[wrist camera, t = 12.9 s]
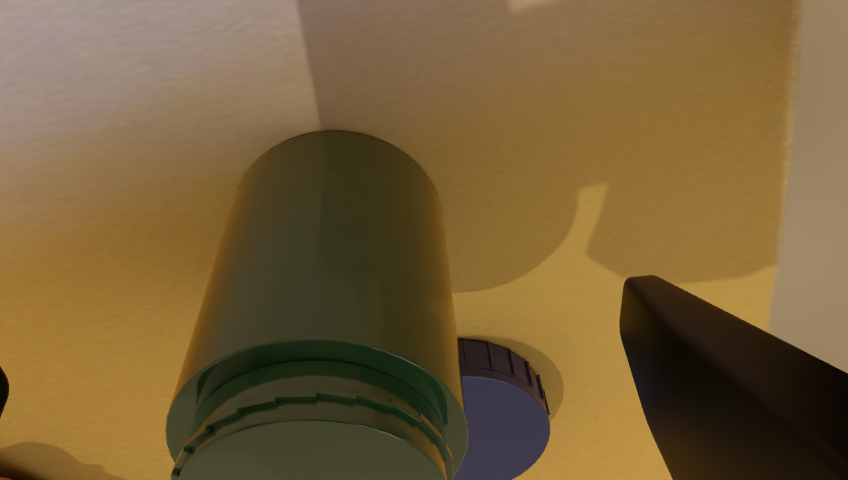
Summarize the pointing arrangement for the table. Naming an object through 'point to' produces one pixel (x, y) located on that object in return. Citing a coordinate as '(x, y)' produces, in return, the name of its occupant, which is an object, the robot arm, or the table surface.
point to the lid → (501, 413)
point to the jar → (325, 326)
